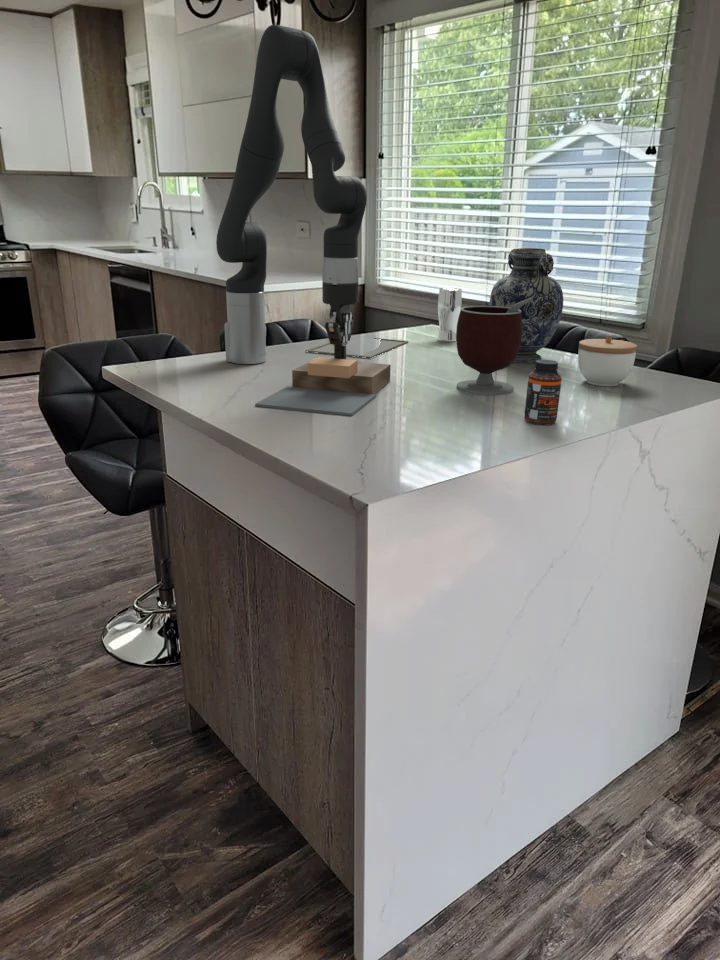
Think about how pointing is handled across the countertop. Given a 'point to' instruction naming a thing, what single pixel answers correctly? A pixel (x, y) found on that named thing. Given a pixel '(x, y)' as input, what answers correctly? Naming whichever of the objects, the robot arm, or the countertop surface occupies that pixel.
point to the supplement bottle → (543, 393)
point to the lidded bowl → (606, 360)
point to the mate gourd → (488, 344)
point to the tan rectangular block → (332, 367)
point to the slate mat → (317, 400)
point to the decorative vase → (526, 284)
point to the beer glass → (448, 313)
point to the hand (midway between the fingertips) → (340, 362)
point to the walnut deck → (346, 379)
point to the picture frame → (383, 347)
